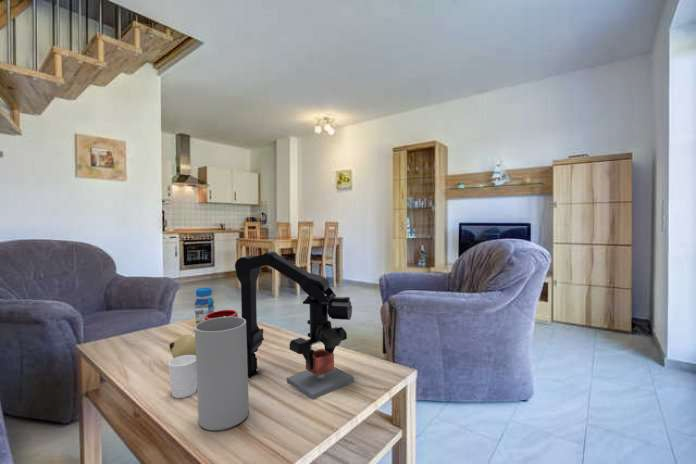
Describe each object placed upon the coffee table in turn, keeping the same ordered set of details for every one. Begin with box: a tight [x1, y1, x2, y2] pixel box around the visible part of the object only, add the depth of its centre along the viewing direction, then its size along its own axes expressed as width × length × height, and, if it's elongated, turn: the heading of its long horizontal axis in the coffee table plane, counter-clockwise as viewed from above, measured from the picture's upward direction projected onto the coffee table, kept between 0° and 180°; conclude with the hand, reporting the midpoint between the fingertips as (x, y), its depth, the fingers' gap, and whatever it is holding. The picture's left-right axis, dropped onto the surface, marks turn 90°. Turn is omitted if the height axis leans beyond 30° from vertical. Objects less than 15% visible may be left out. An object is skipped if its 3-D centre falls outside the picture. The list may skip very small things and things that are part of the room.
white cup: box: [167, 355, 197, 399], centre depth 103 cm, size 8×8×10 cm
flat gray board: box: [286, 366, 355, 401], centre depth 108 cm, size 16×14×6 cm
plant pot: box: [205, 309, 239, 320], centre depth 145 cm, size 13×13×12 cm
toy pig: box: [168, 334, 196, 359], centre depth 124 cm, size 10×12×11 cm
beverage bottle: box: [194, 287, 215, 326], centre depth 158 cm, size 8×8×20 cm
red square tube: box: [305, 348, 335, 376], centre depth 108 cm, size 6×6×5 cm
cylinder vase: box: [194, 316, 250, 431], centre depth 89 cm, size 12×12×25 cm
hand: (319, 366), depth 108 cm, fingers closed on red square tube, 6 cm apart
